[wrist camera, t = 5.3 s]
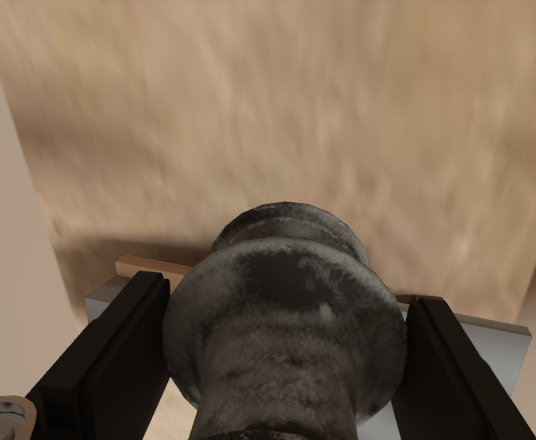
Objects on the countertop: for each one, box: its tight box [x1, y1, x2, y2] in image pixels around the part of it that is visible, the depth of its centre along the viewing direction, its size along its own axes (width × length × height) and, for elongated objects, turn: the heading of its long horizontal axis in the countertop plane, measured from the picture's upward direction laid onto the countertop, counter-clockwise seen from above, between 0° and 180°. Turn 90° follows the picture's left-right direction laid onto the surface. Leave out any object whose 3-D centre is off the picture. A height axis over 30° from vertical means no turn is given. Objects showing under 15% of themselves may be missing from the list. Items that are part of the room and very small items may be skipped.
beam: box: [85, 254, 532, 440], centre depth 23 cm, size 10×24×4 cm, turn 87°
